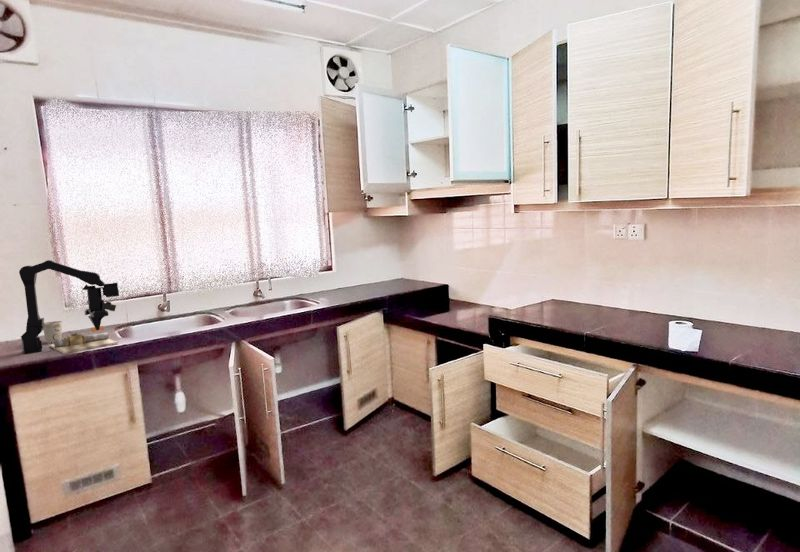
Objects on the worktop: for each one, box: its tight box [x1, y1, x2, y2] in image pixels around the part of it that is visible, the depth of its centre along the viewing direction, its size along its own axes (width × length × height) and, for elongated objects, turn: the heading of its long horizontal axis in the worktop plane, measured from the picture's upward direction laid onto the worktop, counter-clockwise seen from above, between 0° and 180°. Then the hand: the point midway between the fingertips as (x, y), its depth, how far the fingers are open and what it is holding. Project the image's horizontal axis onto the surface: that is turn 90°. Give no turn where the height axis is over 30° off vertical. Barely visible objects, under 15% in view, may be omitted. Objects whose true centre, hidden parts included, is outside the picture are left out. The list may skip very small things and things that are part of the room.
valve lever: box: [70, 325, 104, 335], centre depth 235 cm, size 13×2×2 cm, turn 128°
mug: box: [42, 320, 63, 344], centre depth 245 cm, size 8×13×10 cm, turn 61°
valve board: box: [49, 331, 119, 354], centre depth 233 cm, size 22×24×5 cm
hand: (97, 330), depth 236 cm, fingers closed
